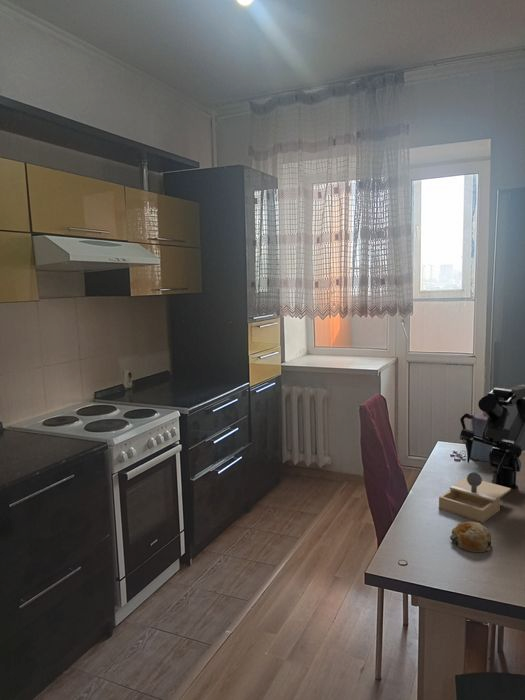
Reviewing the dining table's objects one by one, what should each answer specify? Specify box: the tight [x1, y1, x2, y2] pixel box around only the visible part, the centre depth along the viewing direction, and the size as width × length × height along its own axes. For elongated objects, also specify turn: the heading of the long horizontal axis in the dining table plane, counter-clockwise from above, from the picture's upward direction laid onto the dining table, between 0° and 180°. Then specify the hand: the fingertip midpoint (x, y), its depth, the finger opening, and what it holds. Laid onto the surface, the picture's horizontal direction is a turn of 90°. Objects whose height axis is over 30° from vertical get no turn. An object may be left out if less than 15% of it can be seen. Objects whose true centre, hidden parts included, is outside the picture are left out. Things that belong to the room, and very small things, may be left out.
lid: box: [449, 472, 512, 502], centre depth 166 cm, size 13×14×7 cm
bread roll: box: [449, 520, 493, 553], centre depth 141 cm, size 10×10×8 cm
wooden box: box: [438, 489, 501, 524], centre depth 162 cm, size 12×14×4 cm
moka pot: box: [460, 412, 493, 462], centre depth 206 cm, size 10×15×20 cm, turn 78°
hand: (482, 467), depth 167 cm, fingers open, 9 cm apart
